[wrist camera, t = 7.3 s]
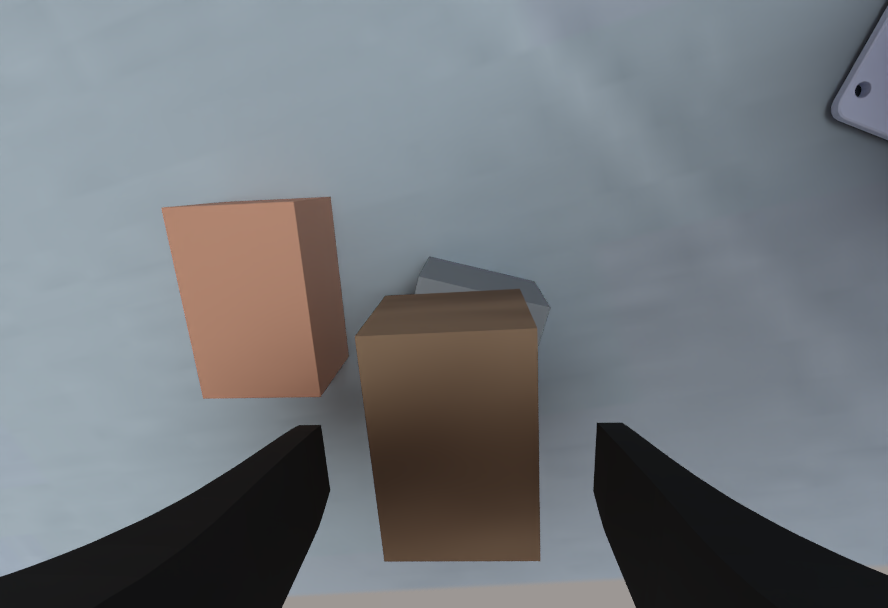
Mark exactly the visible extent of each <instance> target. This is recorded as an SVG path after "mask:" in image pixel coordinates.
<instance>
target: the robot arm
mask: <svg viewBox="0 0 888 608" xmlns="http://www.w3.org/2000/svg"><path fill="white" fill-rule="evenodd" d="M858 84H859V85H860V86H861V90H862V91H861V94H860V95H859V97H857V96H856V95H855V88H856V86H857V85H858ZM831 113H832V115H833V117H834V118H835V119H836V120H838V121H840V122H843V123H845V124H848V125H850V126H853V127H855V128H858V129H861V130H863V131H866V132H868V133H871V134H873V135H876V136H878V137H881V138H883V139H886V140H888V6H887V8H886V10H885V11H884V13H883V15H882V17H881V18H880V20H879V22H878V24H877V25H876V27H875V29H874V31H873V32H872V34H871V36H870V38H869V39H868V41H867V43H866V45H865V46H864V48H863V50H862V52H861V53H860V55H859V57H858V59H857V60H856V62H855V64H854V66H853V68H852V69H851V71H850V73H849V75H848V76H847V78H846V80H845V82H844V83H843V85H842V87H841V89H840V90H839V92H838V94H837V96H836V97H835V99H834V101H833V103H832V106H831ZM593 491H594V495H595V499H596V503H597V507H598V510H599V514H600V517H601V521H602V524H603V528H604V531H605V533H606V536H607V538H608V541H609V543H610V546H611V548H612V551H613V553H614V556H615V558H616V561H617V563H618V565H619V568H620V570H621V573H622V575H623V577H624V580H625V582H626V585H627V587H628V589H629V592H630V594H631V597H632V599H633V601H634V604H635V606H636V608H888V575H886V574H883V573H881V572H879V571H876V570H874V569H871V568H869V567H866V566H864V565H862V564H860V563H857V562H855V561H853V560H850V559H848V558H846V557H844V556H841V555H839V554H837V553H835V552H833V551H830V550H828V549H826V548H824V547H822V546H820V545H818V544H816V543H814V542H812V541H809V540H807V539H805V538H803V537H801V536H799V535H797V534H795V533H793V532H791V531H789V530H787V529H785V528H783V527H781V526H779V525H777V524H775V523H774V522H772V521H770V520H768V519H766V518H765V517H763V516H761V515H759V514H757V513H756V512H754V511H752V510H750V509H748V508H746V507H745V506H743V505H741V504H740V503H738V502H736V501H734V500H733V499H731V498H729V497H728V496H726V495H725V494H723V493H722V492H720V491H718V490H717V489H715V488H714V487H712V486H711V485H709V484H707V483H706V482H704V481H703V480H701V479H700V478H698V477H697V476H695V475H694V474H692V473H691V472H689V471H688V470H687V469H685V468H684V467H682V466H681V465H679V464H678V463H677V462H675V461H674V460H672V459H671V458H670V457H668V456H667V455H666V454H664V453H663V452H661V451H660V450H659V449H657V448H656V447H655V446H653V445H652V444H651V443H649V442H648V441H647V440H645V439H644V438H643V437H641V436H640V435H639V434H637V433H636V432H635V431H633V430H632V429H630V428H629V427H628V426H626V425H625V424H623V423H597V433H596V452H595V471H594V490H593ZM329 493H330V485H329V478H328V471H327V464H326V457H325V450H324V443H323V436H322V429H321V425H299V426H297V427H295V428H293V429H291V430H290V431H288V432H287V433H285V434H283V435H282V436H280V437H279V438H277V439H276V440H274V441H273V442H271V443H270V444H268V445H267V446H266V447H264V448H263V449H261V450H260V451H258V452H257V453H255V454H254V455H252V456H251V457H249V458H248V459H246V460H245V461H243V462H242V463H240V464H239V465H237V466H236V467H234V468H233V469H231V470H229V471H228V472H226V473H224V474H223V475H221V476H220V477H218V478H216V479H215V480H213V481H212V482H210V483H208V484H207V485H205V486H204V487H202V488H200V489H199V490H197V491H195V492H194V493H192V494H190V495H188V496H187V497H185V498H183V499H181V500H179V501H178V502H176V503H174V504H172V505H170V506H168V507H166V508H164V509H162V510H160V511H159V512H157V513H155V514H153V515H151V516H149V517H147V518H145V519H143V520H141V521H138V522H136V523H134V524H132V525H130V526H127V527H125V528H123V529H121V530H119V531H116V532H114V533H112V534H110V535H108V536H105V537H103V538H101V539H99V540H97V541H94V542H92V543H90V544H87V545H85V546H82V547H80V548H77V549H75V550H72V551H70V552H67V553H65V554H62V555H60V556H57V557H55V558H52V559H49V560H47V561H44V562H41V563H39V564H36V565H33V566H31V567H28V568H25V569H22V570H19V571H17V572H14V573H11V574H8V575H5V576H2V577H0V608H282V606H283V604H284V602H285V600H286V597H287V595H288V593H289V591H290V589H291V587H292V584H293V582H294V580H295V578H296V576H297V574H298V572H299V569H300V567H301V565H302V563H303V561H304V559H305V556H306V554H307V552H308V550H309V548H310V545H311V543H312V541H313V539H314V537H315V534H316V532H317V530H318V528H319V525H320V522H321V519H322V516H323V513H324V509H325V506H326V503H327V499H328V496H329Z"/></svg>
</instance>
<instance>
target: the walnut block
mask: <svg viewBox="0 0 888 608" xmlns="http://www.w3.org/2000/svg"><path fill="white" fill-rule="evenodd" d="M355 342H356V350H357V357H358V365H359V372H360V380H361V387H362V395H363V403H364V410H365V418H366V425H367V433H368V440H369V448H370V456H371V463H372V471H373V478H374V486H375V493H376V501H377V509H378V516H379V524H380V531H381V539H382V546H383V554H384V561H540V502H539V422H538V341H537V326H536V324H535V322H534V320H533V317H532V315H531V313H530V311H529V308H528V306H527V304H526V302H525V299H524V297H523V295H522V292H521V290H520V289H506V290H486V291H467V292H448V293H429V294H410V295H391V296H385V297H384V298H383V300H382V301H381V302H380V304H379V305H378V306H377V308H376V309H375V310H374V312H373V313H372V314H371V316H370V317H369V318H368V320H367V321H366V322H365V324H364V325H363V326H362V328H361V329H360V330H359V332H358V333H357V334H356V336H355Z"/></svg>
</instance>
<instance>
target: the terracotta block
mask: <svg viewBox="0 0 888 608" xmlns="http://www.w3.org/2000/svg"><path fill="white" fill-rule="evenodd" d="M162 213H163V217H164V222H165V227H166V231H167V236H168V240H169V245H170V249H171V254H172V258H173V263H174V268H175V272H176V277H177V281H178V286H179V290H180V295H181V299H182V304H183V308H184V313H185V318H186V322H187V327H188V331H189V336H190V340H191V345H192V349H193V354H194V359H195V363H196V368H197V372H198V377H199V381H200V386H201V390H202V395H203V399H205V398H277V397H321V396H322V394H323V393H324V391H325V390H326V388H327V387H328V385H329V384H330V383H331V381H332V380H333V378H334V377H335V375H336V374H337V373H338V371H339V370H340V368H341V367H342V365H343V364H344V362H345V361H346V360H347V358H348V357H349V354H348V345H347V336H346V328H345V319H344V310H343V302H342V293H341V284H340V276H339V267H338V258H337V250H336V241H335V232H334V223H333V215H332V206H331V197H319V198H298V199H277V200H256V201H235V202H219V203H208V204H197V205H186V206H175V207H164V208H162Z"/></svg>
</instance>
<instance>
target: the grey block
mask: <svg viewBox="0 0 888 608" xmlns="http://www.w3.org/2000/svg"><path fill="white" fill-rule="evenodd" d="M506 289H520V290H521V292H522V295H523V297H524V299H525V302H526V304H527V306H528V308H529V311H530V313H531V315H532V317H533V320H534V322H535V324H536V326H537V341H538V346H539V342H540V339H541V336H542V333H543V330H544V326H545V323H546V320H547V317H548V314H549V310H550V306H549V305H548V303H547V301H546V300H545V298H544V296H543V295H542V293H541V291H540V290H539V288H538V287H537V285H536V283H535V282H534V281H530V280H526V279H522V278H518V277H513V276H509V275H505V274H501V273H496V272H492V271H488V270H484V269H480V268H475V267H471V266H467V265H463V264H459V263H454V262H450V261H446V260H442V259H438V258H433V257H429V259H428V260H427V262H426V264H425V266H424V268H423V269H422V271H421V273H420V275H419V277H418V281H417V286H416V290H415V294H429V293H448V292H467V291H486V290H506Z"/></svg>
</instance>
